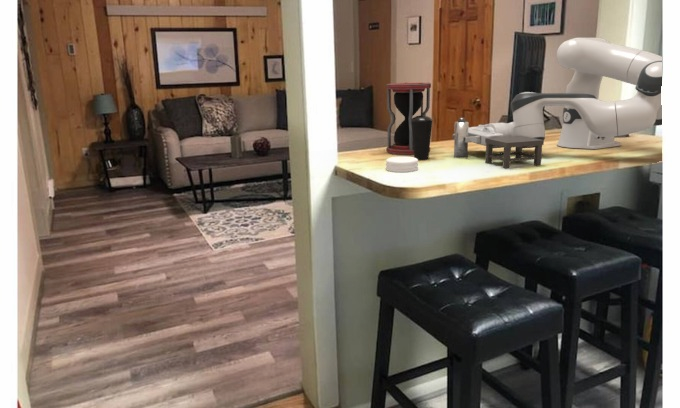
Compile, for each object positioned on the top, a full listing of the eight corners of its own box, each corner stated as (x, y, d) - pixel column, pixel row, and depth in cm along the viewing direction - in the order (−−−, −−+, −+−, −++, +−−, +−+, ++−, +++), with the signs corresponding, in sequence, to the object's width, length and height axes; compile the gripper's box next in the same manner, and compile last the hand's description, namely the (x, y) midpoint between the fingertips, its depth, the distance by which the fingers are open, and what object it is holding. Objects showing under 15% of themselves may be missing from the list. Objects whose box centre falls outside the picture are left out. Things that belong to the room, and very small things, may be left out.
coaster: (379, 170, 164) (379, 159, 163) (399, 165, 171) (399, 155, 170) (404, 174, 157) (404, 162, 156) (424, 169, 164) (424, 158, 163)
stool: (519, 159, 174) (520, 135, 171) (541, 165, 162) (543, 140, 160) (484, 162, 170) (485, 138, 168) (505, 169, 159) (506, 143, 157)
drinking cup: (419, 156, 185) (419, 98, 180) (437, 158, 180) (438, 99, 175) (405, 159, 180) (405, 100, 175) (423, 161, 175) (424, 101, 170)
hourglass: (433, 154, 188) (434, 83, 181) (388, 155, 188) (388, 84, 181) (426, 147, 203) (427, 81, 197) (384, 148, 203) (384, 83, 197)
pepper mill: (463, 155, 185) (464, 116, 181) (469, 157, 180) (471, 117, 177) (451, 156, 183) (452, 117, 180) (457, 158, 179) (459, 118, 176)
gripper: (511, 148, 175) (474, 151, 171) (479, 141, 194) (445, 143, 190) (512, 129, 173) (474, 132, 169) (479, 123, 192) (445, 126, 188)
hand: (459, 138), depth 180 cm, fingers open, 7 cm apart
